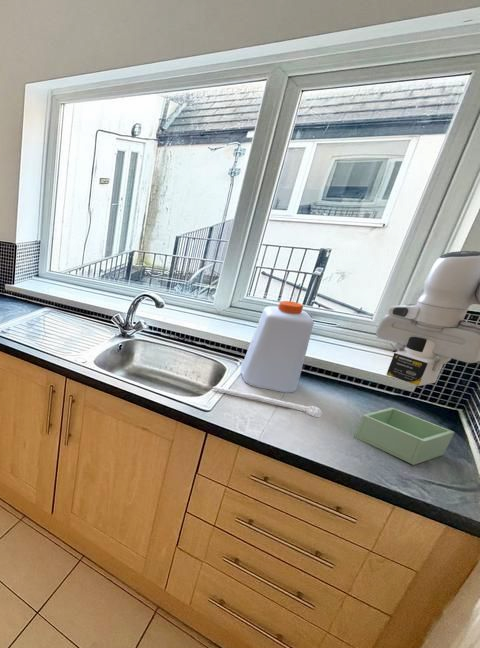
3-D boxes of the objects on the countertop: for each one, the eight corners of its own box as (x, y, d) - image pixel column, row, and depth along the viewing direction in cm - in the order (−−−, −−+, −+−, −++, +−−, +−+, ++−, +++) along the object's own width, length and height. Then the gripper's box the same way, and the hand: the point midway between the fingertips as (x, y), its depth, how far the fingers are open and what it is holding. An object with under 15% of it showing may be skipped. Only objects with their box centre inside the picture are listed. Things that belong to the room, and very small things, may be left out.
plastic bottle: (297, 397, 134) (328, 314, 123) (243, 386, 140) (267, 307, 129) (288, 376, 146) (315, 300, 135) (238, 367, 152) (260, 294, 141)
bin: (443, 454, 106) (454, 431, 103) (413, 465, 102) (424, 441, 99) (383, 428, 117) (392, 407, 114) (353, 436, 113) (362, 414, 110)
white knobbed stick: (211, 393, 134) (213, 385, 133) (212, 388, 137) (214, 380, 136) (321, 420, 120) (324, 412, 119) (319, 414, 124) (322, 405, 122)
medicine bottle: (385, 375, 115) (400, 334, 111) (402, 372, 117) (418, 331, 113) (417, 387, 108) (435, 343, 104) (435, 383, 110) (454, 340, 106)
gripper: (504, 327, 98) (478, 380, 103) (396, 304, 116) (378, 350, 121) (489, 329, 96) (463, 383, 101) (382, 305, 114) (364, 352, 119)
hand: (416, 365), depth 111 cm, fingers closed on medicine bottle, 5 cm apart
